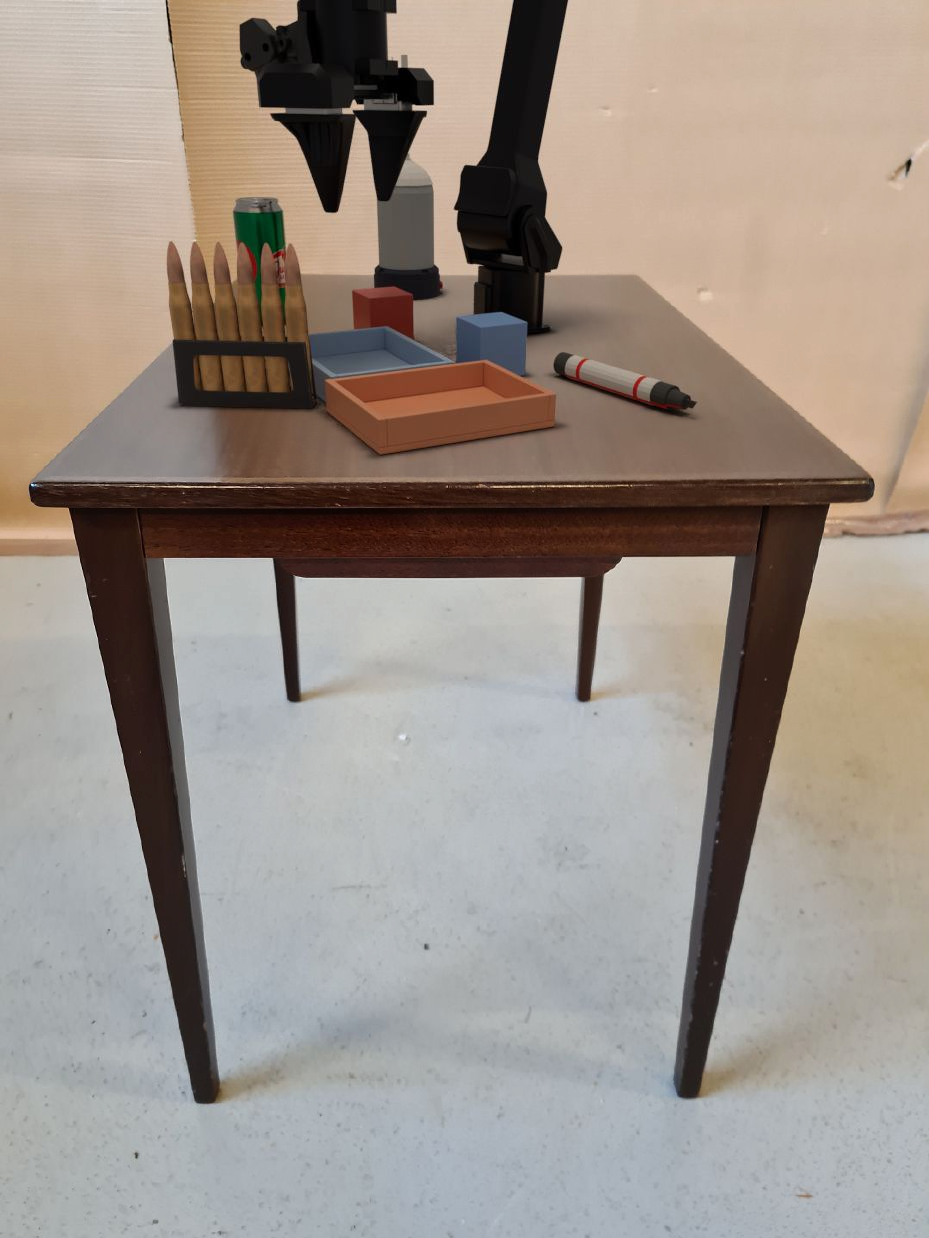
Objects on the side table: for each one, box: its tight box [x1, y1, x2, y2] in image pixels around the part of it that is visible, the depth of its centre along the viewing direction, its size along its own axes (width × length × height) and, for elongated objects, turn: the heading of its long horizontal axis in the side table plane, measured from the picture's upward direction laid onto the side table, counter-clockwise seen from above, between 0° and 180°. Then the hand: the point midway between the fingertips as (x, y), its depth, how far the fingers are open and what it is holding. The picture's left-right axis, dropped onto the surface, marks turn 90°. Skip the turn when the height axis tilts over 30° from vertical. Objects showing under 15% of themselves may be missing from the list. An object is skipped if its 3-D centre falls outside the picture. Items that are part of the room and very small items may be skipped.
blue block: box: [455, 312, 528, 377], centre depth 79 cm, size 5×5×5 cm
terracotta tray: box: [325, 360, 557, 455], centre depth 68 cm, size 14×11×2 cm
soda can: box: [232, 196, 287, 326], centre depth 94 cm, size 5×5×12 cm
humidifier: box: [373, 54, 443, 301], centre depth 105 cm, size 8×8×25 cm
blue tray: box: [286, 326, 456, 403], centre depth 78 cm, size 11×14×2 cm
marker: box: [552, 351, 698, 411], centre depth 74 cm, size 15×2×2 cm, turn 37°
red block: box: [351, 287, 415, 341], centre depth 89 cm, size 5×5×5 cm
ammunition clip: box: [166, 240, 318, 409], centre depth 69 cm, size 11×2×12 cm, turn 88°
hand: (358, 206), depth 76 cm, fingers open, 9 cm apart
